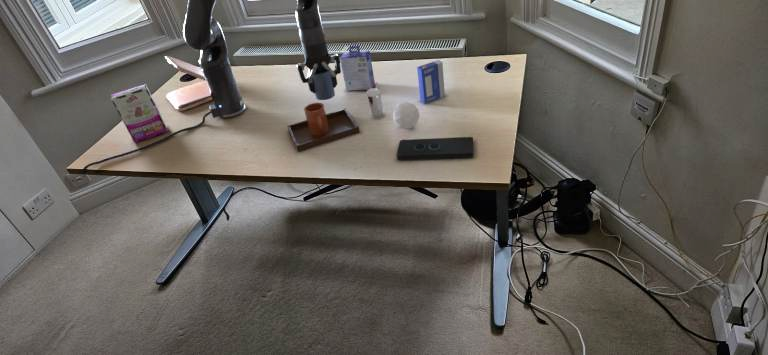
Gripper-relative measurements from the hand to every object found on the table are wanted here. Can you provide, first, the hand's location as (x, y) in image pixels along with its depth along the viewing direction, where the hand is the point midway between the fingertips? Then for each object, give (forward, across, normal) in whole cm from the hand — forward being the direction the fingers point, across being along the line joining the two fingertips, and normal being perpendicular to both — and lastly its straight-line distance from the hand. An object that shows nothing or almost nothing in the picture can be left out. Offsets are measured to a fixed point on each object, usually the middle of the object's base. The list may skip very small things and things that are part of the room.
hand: (324, 89), depth 154 cm
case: (+7, +42, -42) cm, 60 cm away
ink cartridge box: (+6, -14, -8) cm, 18 cm away
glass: (+2, 0, 0) cm, 2 cm away
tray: (+6, +6, +16) cm, 18 cm away
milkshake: (+6, -12, +16) cm, 21 cm away
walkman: (+6, -31, +16) cm, 36 cm away
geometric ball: (+6, -17, +28) cm, 34 cm away
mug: (+6, +7, +17) cm, 19 cm away
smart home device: (+6, -19, +45) cm, 49 cm away
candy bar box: (+8, +59, -18) cm, 62 cm away
